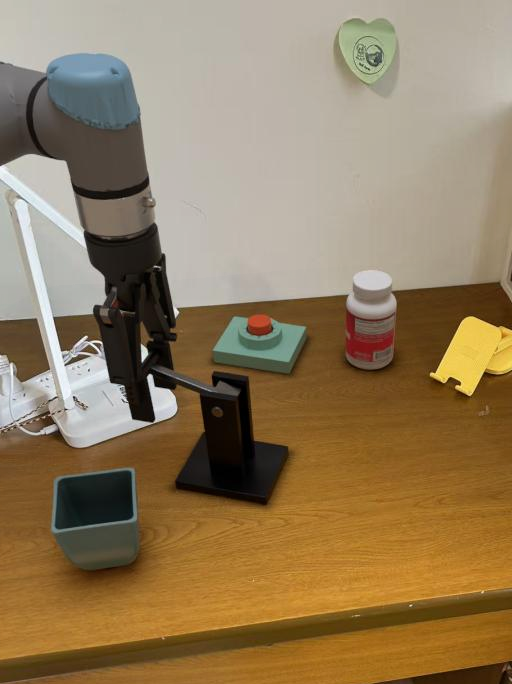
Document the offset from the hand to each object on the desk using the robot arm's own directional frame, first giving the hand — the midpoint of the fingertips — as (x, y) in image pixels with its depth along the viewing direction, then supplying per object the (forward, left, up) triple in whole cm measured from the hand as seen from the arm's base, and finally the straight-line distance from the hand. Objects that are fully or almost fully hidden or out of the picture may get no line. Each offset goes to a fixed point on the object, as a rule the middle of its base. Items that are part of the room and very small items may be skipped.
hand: (155, 402), depth 95 cm
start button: (-5, +27, -6) cm, 28 cm away
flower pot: (+6, -16, -10) cm, 19 cm away
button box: (-5, +27, -9) cm, 29 cm away
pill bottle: (+10, +35, -10) cm, 38 cm away
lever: (+4, +2, +3) cm, 5 cm away
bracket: (+9, +3, -9) cm, 13 cm away
